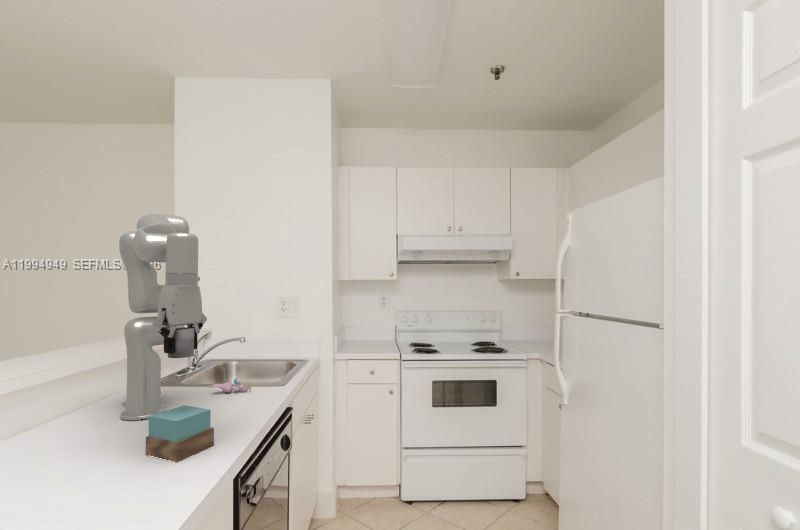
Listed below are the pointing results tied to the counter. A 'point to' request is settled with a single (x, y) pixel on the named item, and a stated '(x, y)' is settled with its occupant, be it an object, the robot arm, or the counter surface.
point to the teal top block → (179, 423)
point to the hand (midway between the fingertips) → (181, 350)
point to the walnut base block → (179, 446)
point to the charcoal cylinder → (183, 343)
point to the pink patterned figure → (228, 387)
